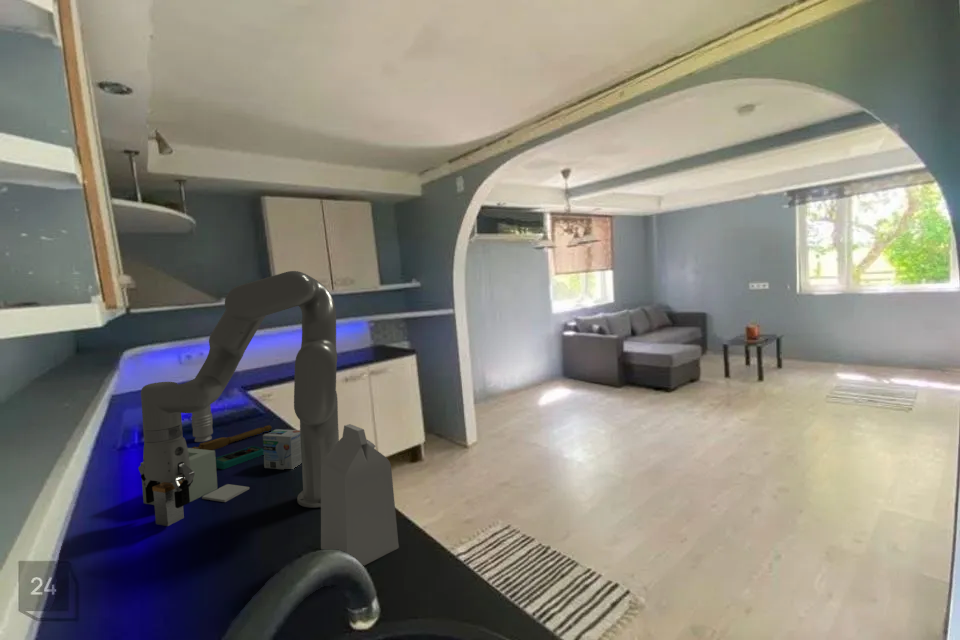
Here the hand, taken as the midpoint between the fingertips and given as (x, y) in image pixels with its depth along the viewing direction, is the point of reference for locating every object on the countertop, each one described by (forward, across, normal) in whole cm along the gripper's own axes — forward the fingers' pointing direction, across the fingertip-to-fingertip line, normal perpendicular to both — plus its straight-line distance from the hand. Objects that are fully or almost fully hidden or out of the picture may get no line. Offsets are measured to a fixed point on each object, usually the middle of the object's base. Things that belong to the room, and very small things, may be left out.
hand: (168, 502), depth 105 cm
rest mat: (+4, -1, -15) cm, 16 cm away
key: (+5, 0, 0) cm, 5 cm away
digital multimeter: (+5, +17, -36) cm, 40 cm away
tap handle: (+5, +35, -50) cm, 61 cm away
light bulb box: (+5, -2, -36) cm, 36 cm away
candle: (+5, +50, -50) cm, 71 cm away
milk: (+4, -52, -2) cm, 53 cm away
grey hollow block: (+4, +10, -11) cm, 16 cm away
